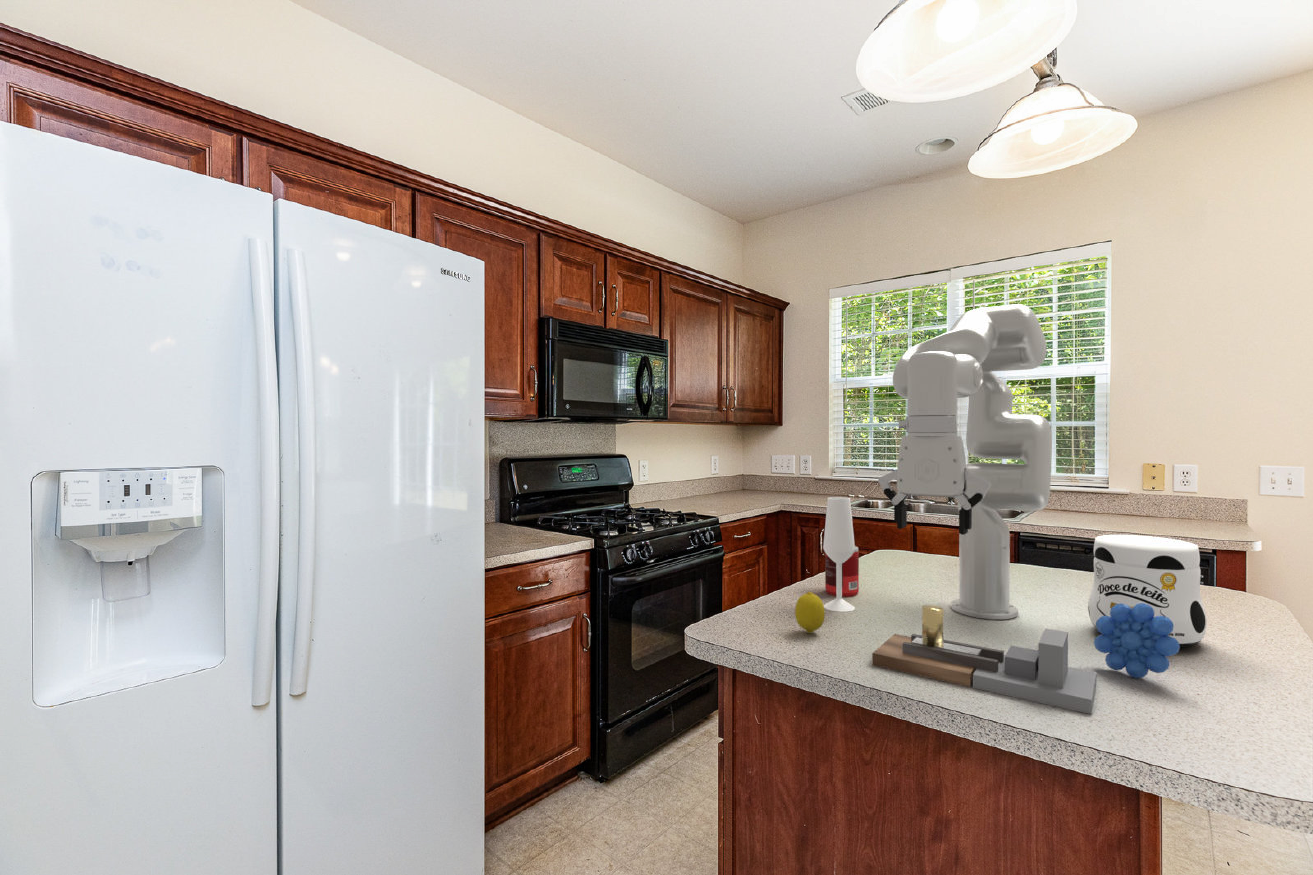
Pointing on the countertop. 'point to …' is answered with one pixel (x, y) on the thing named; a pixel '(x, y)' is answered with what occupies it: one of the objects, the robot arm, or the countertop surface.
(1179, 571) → the doce de leite tub
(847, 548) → the champagne flute
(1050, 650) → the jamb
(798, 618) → the lemon
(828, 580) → the canned food
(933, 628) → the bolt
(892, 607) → the countertop surface
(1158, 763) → the countertop surface
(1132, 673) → the blue flower
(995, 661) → the wooden block with rails
